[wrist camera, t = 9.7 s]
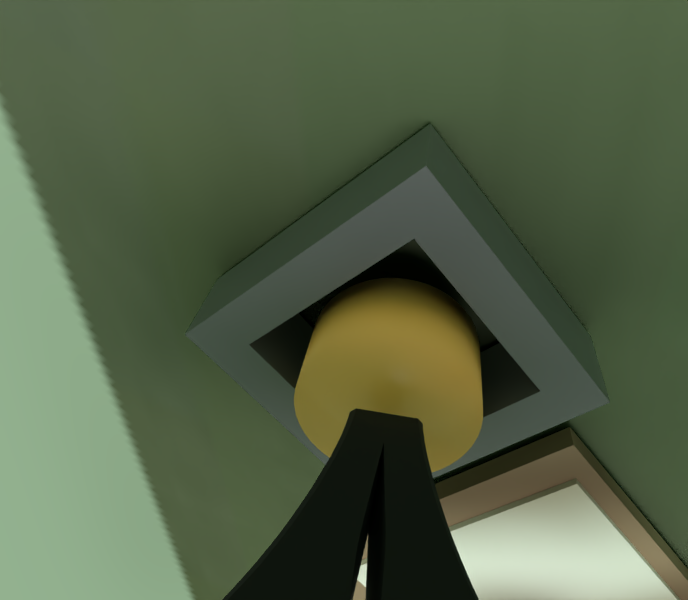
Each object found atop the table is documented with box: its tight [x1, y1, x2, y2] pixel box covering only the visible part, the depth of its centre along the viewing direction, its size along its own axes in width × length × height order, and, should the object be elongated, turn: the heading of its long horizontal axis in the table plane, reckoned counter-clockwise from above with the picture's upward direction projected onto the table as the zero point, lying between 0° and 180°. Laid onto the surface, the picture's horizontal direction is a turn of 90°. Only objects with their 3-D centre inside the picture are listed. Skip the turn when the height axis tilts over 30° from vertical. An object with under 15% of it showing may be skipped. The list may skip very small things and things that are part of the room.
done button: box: [294, 278, 483, 472], centre depth 15 cm, size 4×4×2 cm
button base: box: [185, 124, 610, 478], centre depth 16 cm, size 7×7×2 cm
